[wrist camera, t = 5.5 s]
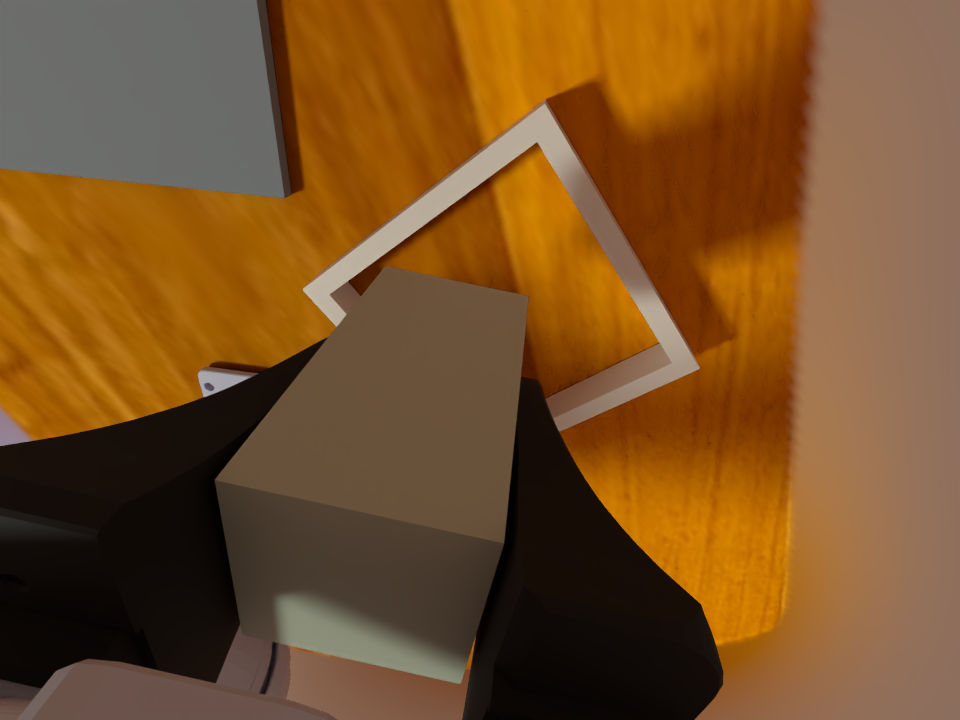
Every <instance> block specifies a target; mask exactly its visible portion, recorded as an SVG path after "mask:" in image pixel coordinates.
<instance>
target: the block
mask: <svg viewBox="0 0 960 720" xmlns="http://www.w3.org/2000/svg"><path fill="white" fill-rule="evenodd" d="M528 300H529V296H525V295H521V294H516V293H511V292H506V291H502V290H497V289H492V288H487V287H483V286H478V285H473V284H468V283H464V282H459V281H454V280H449V279H445V278H440V277H435V276H430V275H426V274H421V273H416V272H411V271H407V270H402V269H397V268H392V267H388V266H385V267H384V268H383V269H382V271H381V272H380V273H379V275H378V276H377V277H376V278H375V280H374V281H373V282H372V283H371V285H370V286H369V287H368V288H367V290H366V291H365V292H364V293H363V295H362V296H361V297H360V298H359V300H358V301H357V302H356V303H355V305H354V306H353V307H352V308H351V310H350V311H349V312H348V313H347V315H346V316H345V317H344V318H343V320H342V321H341V322H340V323H339V325H338V326H337V327H336V328H335V330H334V331H333V332H332V333H331V335H330V336H329V337H328V338H327V340H326V341H325V342H324V343H323V345H322V346H321V347H320V348H319V350H318V351H317V352H316V353H315V355H314V356H313V357H312V358H311V360H310V361H309V362H308V363H307V365H306V366H305V367H304V369H303V370H302V371H301V372H300V374H299V375H298V376H297V377H296V379H295V380H294V381H293V382H292V384H291V385H290V386H289V387H288V389H287V390H286V391H285V392H284V394H283V395H282V396H281V397H280V399H279V400H278V401H277V402H276V404H275V405H274V406H273V407H272V409H271V410H270V411H269V412H268V414H267V415H266V416H265V417H264V419H263V420H262V421H261V422H260V424H259V425H258V426H257V427H256V429H255V430H254V431H253V432H252V434H251V435H250V436H249V437H248V439H247V440H246V441H245V442H244V444H243V445H242V446H241V447H240V449H239V450H238V451H237V452H236V454H235V455H234V456H233V457H232V459H231V460H230V461H229V462H228V464H227V465H226V466H225V468H224V469H223V470H222V471H221V473H220V474H219V475H218V476H217V478H216V479H215V485H216V491H217V496H218V502H219V507H220V513H221V519H222V524H223V530H224V535H225V541H226V547H227V552H228V558H229V563H230V569H231V574H232V580H233V586H234V591H235V597H236V602H237V608H238V614H239V619H240V625H241V630H242V635H244V636H249V637H253V638H258V639H262V640H267V641H271V642H276V643H280V644H284V645H289V646H293V647H298V648H302V649H307V650H311V651H316V652H320V653H325V654H329V655H333V656H338V657H342V658H347V659H351V660H356V661H360V662H365V663H369V664H374V665H378V666H382V667H387V668H391V669H396V670H400V671H405V672H409V673H414V674H418V675H423V676H427V677H431V678H436V679H441V680H445V681H449V682H454V683H458V684H461V681H462V678H463V675H464V671H465V668H466V665H467V662H468V658H469V655H470V652H471V649H472V645H473V642H474V639H475V636H476V633H477V629H478V626H479V623H480V620H481V616H482V613H483V610H484V607H485V603H486V600H487V597H488V594H489V591H490V587H491V584H492V581H493V578H494V574H495V571H496V568H497V565H498V561H499V558H500V555H501V552H502V549H503V545H504V539H505V529H506V519H507V509H508V499H509V490H510V480H511V470H512V460H513V450H514V440H515V430H516V420H517V410H518V400H519V390H520V380H521V370H522V360H523V350H524V340H525V330H526V320H527V310H528Z"/></svg>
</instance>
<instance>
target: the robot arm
mask: <svg viewBox="0 0 960 720" xmlns="http://www.w3.org/2000/svg"><path fill="white" fill-rule="evenodd" d="M327 338H328V337H327ZM327 338H325V339H323V340H321V341H319V342H318V343H316V344H314V345H312V346H310V347H308V348H307V349H305V350H303V351H301V352H299V353H297V354H296V355H294V356H292V357H290V358H288V359H286V360H284V361H282V362H280V363H279V364H277V365H275V366H273V367H271V368H269V369H267V370H265V371H263V372H261V373H252V372H244V371H236V370H229V369H221V368H214V367H205V368H203V369H202V370H201V371H199V373H198V378H199V382H200V385H201V389H202V392H203V396H204V397H203V398H201V399H198V400H195V401H193V402H190V403H187V404H184V405H181V406H178V407H175V408H172V409H168V410H165V411H162V412H158V413H155V414H152V415H148V416H145V417H141V418H138V419H135V420H131V421H127V422H123V423H119V424H115V425H111V426H107V427H103V428H98V429H94V430H89V431H84V432H80V433H75V434H70V435H65V436H60V437H54V438H48V439H42V440H36V441H30V442H24V443H18V444H11V445H5V446H0V720H337V719H336V718H334V717H333V716H331V715H330V714H328V713H326V712H323V711H320V710H317V709H314V708H311V707H309V706H306V705H303V704H300V703H297V702H294V701H291V700H286V697H287V693H288V689H289V683H290V657H291V656H290V648H289V646H288V645H284V644H280V643H276V642H271V641H267V640H262V639H258V638H253V637H249V636H244V635H242V630H241V625H240V619H239V614H238V608H237V602H236V597H235V591H234V586H233V580H232V574H231V569H230V563H229V558H228V552H227V547H226V541H225V535H224V530H223V524H222V519H221V513H220V507H219V502H218V496H217V491H216V485H215V479H216V478H217V476H218V475H219V474H220V473H221V471H222V470H223V469H224V468H225V466H226V465H227V464H228V462H229V461H230V460H231V459H232V457H233V456H234V455H235V454H236V452H237V451H238V450H239V449H240V447H241V446H242V445H243V444H244V442H245V441H246V440H247V439H248V437H249V436H250V435H251V434H252V432H253V431H254V430H255V429H256V427H257V426H258V425H259V424H260V422H261V421H262V420H263V419H264V417H265V416H266V415H267V414H268V412H269V411H270V410H271V409H272V407H273V406H274V405H275V404H276V402H277V401H278V400H279V399H280V397H281V396H282V395H283V394H284V392H285V391H286V390H287V389H288V387H289V386H290V385H291V384H292V382H293V381H294V380H295V379H296V377H297V376H298V375H299V374H300V372H301V371H302V370H303V369H304V367H305V366H306V365H307V363H308V362H309V361H310V360H311V358H312V357H313V356H314V355H315V353H316V352H317V351H318V350H319V348H320V347H321V346H322V345H323V343H324V342H325V341H326V340H327ZM210 383H211V384H212V385H213V386H212V385H211V384H210ZM722 685H723V670H722V666H721V662H720V658H719V655H718V651H717V647H716V644H715V641H714V638H713V635H712V632H711V629H710V627H709V624H708V622H707V620H706V617H705V615H704V612H703V609H702V606H701V604H700V603H699V602H698V601H696V600H695V599H694V598H693V597H692V596H691V595H690V594H689V593H687V592H686V591H685V590H684V589H683V588H682V587H681V586H680V585H679V584H677V583H676V582H675V581H674V580H673V579H672V578H671V577H670V576H668V575H667V574H666V573H665V572H664V571H663V570H662V569H661V568H660V567H659V566H658V565H657V564H656V563H655V562H654V561H653V560H652V559H651V558H650V557H649V556H648V555H647V554H646V553H645V552H644V551H643V550H642V549H641V548H640V547H639V546H638V545H637V544H636V543H635V542H634V541H633V540H632V538H631V537H630V536H629V535H628V534H627V533H626V532H625V531H624V530H623V528H622V527H621V526H620V525H619V524H618V522H617V521H616V520H615V519H614V518H613V516H612V515H611V514H610V513H609V512H608V510H607V509H606V508H605V507H604V505H603V504H602V503H601V501H600V500H599V499H598V497H597V496H596V494H595V493H594V492H593V490H592V489H591V487H590V486H589V484H588V483H587V481H586V480H585V478H584V476H583V475H582V473H581V472H580V470H579V468H578V467H577V465H576V463H575V461H574V460H573V458H572V456H571V454H570V452H569V451H568V449H567V447H566V445H565V443H564V441H563V439H562V437H561V435H560V433H559V430H558V428H557V426H556V424H555V422H554V419H553V417H552V415H551V412H550V410H549V407H548V405H547V402H546V399H545V396H544V393H543V390H542V387H541V384H540V383H539V381H538V380H534V379H529V378H524V377H521V380H520V390H519V400H518V410H517V420H516V430H515V440H514V450H513V460H512V470H511V480H510V490H509V499H508V509H507V519H506V529H505V539H504V545H503V549H502V552H501V555H500V558H499V561H498V565H497V568H496V571H495V574H494V578H493V581H492V584H491V587H490V591H489V594H488V597H487V600H486V603H485V607H484V610H483V613H482V616H481V620H480V623H479V626H478V629H477V633H476V639H475V645H474V652H473V658H472V664H471V670H470V676H469V683H468V689H467V695H466V701H465V707H464V713H463V719H462V720H694V719H695V718H696V717H697V716H698V715H699V714H700V713H701V712H702V711H703V710H704V709H705V708H706V707H707V705H709V703H710V702H711V701H712V700H713V699H714V698H715V697H716V695H717V693H718V692H719V690H720V688H721V687H722Z"/></svg>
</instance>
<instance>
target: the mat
mask: <svg viewBox="0 0 960 720" xmlns="http://www.w3.org/2000/svg"><path fill="white" fill-rule="evenodd" d="M0 168H1V169H11V170H20V171H30V172H39V173H49V174H59V175H68V176H78V177H87V178H97V179H106V180H116V181H125V182H135V183H144V184H154V185H163V186H173V187H182V188H192V189H202V190H211V191H221V192H230V193H240V194H249V195H259V196H268V197H278V198H286V197H288V196H290V195H291V188H290V180H289V173H288V165H287V158H286V150H285V143H284V135H283V128H282V120H281V113H280V105H279V98H278V90H277V83H276V75H275V68H274V60H273V53H272V45H271V38H270V30H269V23H268V15H267V8H266V0H0Z"/></svg>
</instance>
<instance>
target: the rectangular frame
mask: <svg viewBox="0 0 960 720" xmlns="http://www.w3.org/2000/svg"><path fill="white" fill-rule="evenodd" d="M536 142H538V144H539V146H540V147H541V149H542V151H543V152H544V154H545V156H546V157H547V159H548V160H549V162H550V164H551V165H552V167H553V169H554V170H555V172H556V174H557V175H558V177H559V179H560V180H561V182H562V183H563V185H564V187H565V188H566V190H567V192H568V193H569V195H570V197H571V198H572V200H573V201H574V203H575V205H576V206H577V208H578V210H579V211H580V213H581V215H582V216H583V218H584V219H585V221H586V223H587V224H588V226H589V228H590V229H591V231H592V233H593V234H594V236H595V237H596V239H597V241H598V242H599V244H600V246H601V247H602V249H603V251H604V252H605V254H606V256H607V257H608V259H609V260H610V262H611V264H612V265H613V267H614V269H615V270H616V272H617V274H618V275H619V277H620V278H621V280H622V282H623V283H624V285H625V287H626V288H627V290H628V292H629V293H630V295H631V296H632V298H633V300H634V301H635V303H636V305H637V306H638V308H639V310H640V311H641V313H642V315H643V316H644V318H645V319H646V321H647V323H648V324H649V326H650V328H651V329H652V331H653V333H654V334H655V336H656V337H657V339H658V341H659V342H660V343H659V344H657V345H655V346H653V347H651V348H649V349H647V350H644V351H642V352H640V353H638V354H636V355H634V356H632V357H630V358H628V359H626V360H624V361H622V362H620V363H618V364H616V365H614V366H612V367H610V368H607V369H605V370H603V371H601V372H599V373H597V374H595V375H593V376H591V377H589V378H587V379H585V380H583V381H581V382H579V383H577V384H575V385H573V386H571V387H568V388H566V389H564V390H562V391H560V392H558V393H556V394H554V395H552V396H550V397H548V398H546V402H547V405H548V407H549V410H550V412H551V415H552V417H553V419H554V422H555V424H556V426H557V428H558V430H559V432H560V431H563V430H565V429H567V428H569V427H572V426H574V425H576V424H578V423H581V422H583V421H585V420H587V419H589V418H592V417H594V416H596V415H598V414H601V413H603V412H605V411H607V410H609V409H612V408H614V407H616V406H618V405H621V404H623V403H625V402H627V401H629V400H632V399H634V398H636V397H638V396H641V395H643V394H645V393H647V392H649V391H652V390H654V389H656V388H658V387H661V386H663V385H665V384H667V383H669V382H672V381H674V380H676V379H678V378H681V377H683V376H685V375H687V374H690V373H692V372H694V371H696V370H698V369H700V367H699V365H698V363H697V361H696V359H695V357H694V355H693V353H692V351H691V348H690V346H689V345H688V343H687V341H686V339H685V338H684V336H683V334H682V333H681V331H680V329H679V327H678V326H677V324H676V322H675V321H674V319H673V317H672V315H671V314H670V312H669V310H668V309H667V307H666V305H665V303H664V302H663V300H662V298H661V297H660V295H659V293H658V291H657V290H656V288H655V286H654V284H653V283H652V281H651V279H650V278H649V276H648V274H647V272H646V271H645V269H644V267H643V266H642V264H641V262H640V260H639V259H638V257H637V255H636V254H635V252H634V250H633V248H632V247H631V245H630V243H629V242H628V240H627V238H626V236H625V235H624V233H623V231H622V230H621V228H620V226H619V224H618V223H617V221H616V219H615V218H614V216H613V214H612V212H611V211H610V209H609V207H608V206H607V204H606V202H605V200H604V199H603V197H602V195H601V194H600V192H599V190H598V188H597V187H596V185H595V183H594V181H593V180H592V178H591V176H590V175H589V173H588V171H587V169H586V168H585V166H584V164H583V163H582V161H581V159H580V157H579V156H578V154H577V152H576V151H575V149H574V147H573V145H572V144H571V142H570V140H569V139H568V137H567V135H566V133H565V132H564V130H563V128H562V127H561V125H560V123H559V121H558V120H557V118H556V116H555V115H554V113H553V111H552V109H551V108H550V106H549V104H548V103H547V101H546V99H545V100H544V101H543V102H542V103H540V104H539V105H538V106H536V107H535V108H534V109H532V110H531V111H530V112H529V113H527V114H526V115H525V116H523V117H522V118H521V119H519V120H518V121H517V122H516V123H514V124H513V125H512V126H510V127H509V128H508V129H506V130H505V131H504V132H503V133H501V134H500V135H499V136H497V137H496V138H495V139H493V140H492V141H491V142H490V143H488V144H487V145H486V146H484V147H483V148H482V149H480V150H479V151H478V152H477V153H475V154H474V155H473V156H471V157H470V158H469V159H467V160H466V161H465V162H464V163H462V164H461V165H460V166H458V167H457V168H456V169H454V170H453V171H452V172H451V173H449V174H448V175H447V176H445V177H444V178H443V179H441V180H440V181H439V182H438V183H436V184H435V185H434V186H432V187H431V188H430V189H428V190H427V191H426V192H425V193H423V194H422V195H421V196H419V197H418V198H417V199H415V200H414V201H413V202H412V203H410V204H409V205H408V206H406V207H405V208H404V209H402V210H401V211H400V212H399V213H397V214H396V215H395V216H393V217H392V218H391V219H389V220H388V221H387V222H386V223H384V224H383V225H382V226H380V227H379V228H378V229H376V230H375V231H374V232H373V233H371V234H370V235H369V236H367V237H366V238H365V239H363V240H362V241H361V242H360V243H358V244H357V245H356V246H354V247H353V248H352V249H350V250H349V251H348V252H347V253H345V254H344V255H343V256H341V257H340V258H339V259H337V260H336V261H335V262H334V263H332V264H331V265H330V266H328V267H327V268H326V269H324V270H323V271H322V272H321V273H319V274H318V275H317V276H316V277H315V278H314V279H313V280H312V281H311V282H310V283H309V284H308V285H306V286H305V287H304V288H303V289H302V290H303V291H304V292H305V293H306V294H307V295H308V296H309V297H310V298H311V300H312V301H313V302H314V303H315V304H316V305H317V306H318V307H319V308H320V309H321V310H322V312H323V313H324V314H325V315H326V316H327V317H328V318H329V319H330V320H331V321H332V322H333V323H334V325H335V326H336V327H337V326H338V325H339V323H340V322H341V321H342V320H343V318H344V317H345V316H346V315H347V313H348V312H349V311H350V310H351V308H352V307H353V306H354V305H355V303H356V302H357V301H358V300H359V298H360V297H361V296H360V295H359V294H358V292H357V291H356V290H355V289H354V288H353V287H352V286H351V284H350V283H349V282H348V281H349V280H350V279H351V278H353V277H354V276H355V275H357V274H358V273H360V272H361V271H362V270H364V269H365V268H366V267H368V266H369V265H370V264H372V263H373V262H375V261H376V260H377V259H379V258H380V257H381V256H383V255H384V254H385V253H387V252H388V251H389V250H391V249H392V248H394V247H395V246H396V245H398V244H399V243H400V242H402V241H403V240H404V239H406V238H407V237H409V236H410V235H411V234H413V233H414V232H415V231H417V230H418V229H419V228H421V227H422V226H423V225H425V224H426V223H428V222H429V221H430V220H432V219H433V218H434V217H436V216H437V215H438V214H440V213H441V212H443V211H444V210H445V209H447V208H448V207H449V206H451V205H452V204H453V203H455V202H456V201H458V200H459V199H460V198H462V197H463V196H464V195H466V194H467V193H468V192H470V191H471V190H472V189H474V188H475V187H477V186H478V185H479V184H481V183H482V182H483V181H485V180H486V179H487V178H489V177H490V176H492V175H493V174H494V173H496V172H497V171H498V170H500V169H501V168H502V167H504V166H505V165H506V164H508V163H509V162H511V161H512V160H513V159H515V158H516V157H517V156H519V155H520V154H521V153H523V152H524V151H526V150H527V149H528V148H530V147H531V146H532V145H534V144H535V143H536Z"/></svg>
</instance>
